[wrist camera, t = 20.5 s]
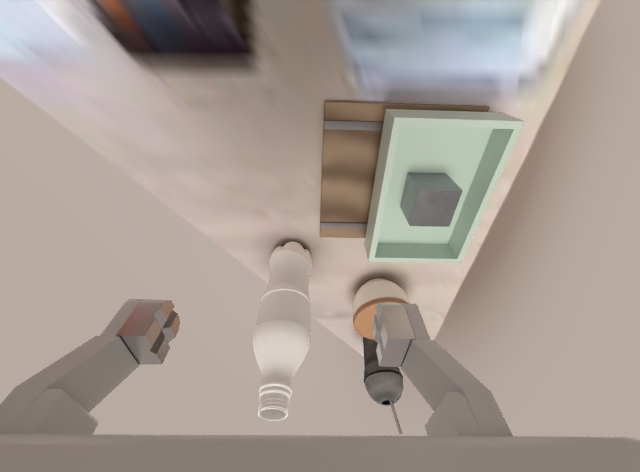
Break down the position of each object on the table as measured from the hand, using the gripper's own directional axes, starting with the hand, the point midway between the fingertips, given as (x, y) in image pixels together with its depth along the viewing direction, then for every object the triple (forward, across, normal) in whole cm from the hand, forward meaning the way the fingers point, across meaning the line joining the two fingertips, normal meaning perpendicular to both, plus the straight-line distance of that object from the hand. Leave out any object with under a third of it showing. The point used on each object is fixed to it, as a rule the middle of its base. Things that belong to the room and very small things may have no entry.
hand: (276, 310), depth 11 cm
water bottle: (+29, +2, +21) cm, 36 cm away
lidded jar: (+29, -14, +30) cm, 44 cm away
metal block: (+26, -16, +7) cm, 31 cm away
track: (+29, -12, +7) cm, 32 cm away
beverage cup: (+29, -15, +42) cm, 53 cm away
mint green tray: (+28, -16, +7) cm, 33 cm away
